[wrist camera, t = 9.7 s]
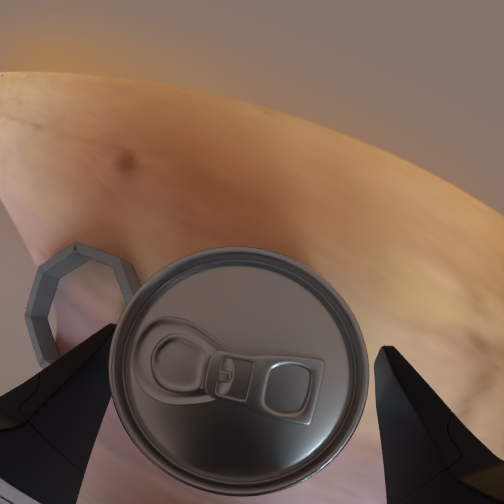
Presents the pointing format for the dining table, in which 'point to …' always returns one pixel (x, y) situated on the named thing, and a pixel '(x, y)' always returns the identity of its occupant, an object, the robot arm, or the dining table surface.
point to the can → (238, 371)
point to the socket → (47, 286)
